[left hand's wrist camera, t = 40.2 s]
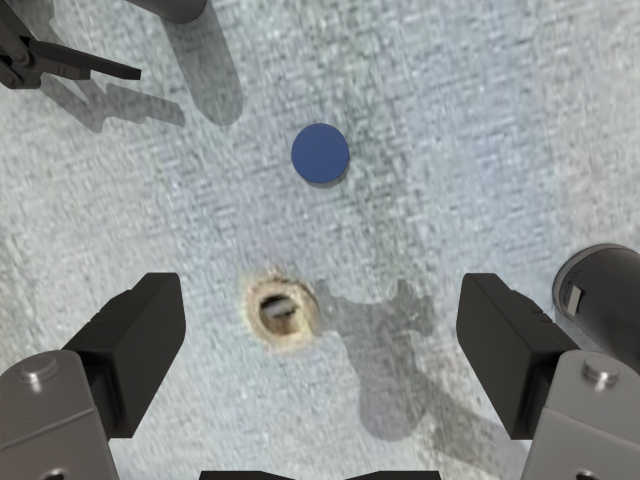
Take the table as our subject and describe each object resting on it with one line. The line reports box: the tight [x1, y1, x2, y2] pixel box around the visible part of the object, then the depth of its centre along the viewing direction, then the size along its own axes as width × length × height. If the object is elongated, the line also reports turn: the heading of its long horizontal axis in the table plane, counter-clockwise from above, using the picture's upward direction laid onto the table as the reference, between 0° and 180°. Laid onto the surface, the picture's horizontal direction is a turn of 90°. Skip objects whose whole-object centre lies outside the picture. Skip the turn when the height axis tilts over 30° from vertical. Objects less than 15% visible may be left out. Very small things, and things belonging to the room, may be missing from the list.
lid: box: [291, 123, 349, 183], centre depth 37 cm, size 5×5×2 cm
